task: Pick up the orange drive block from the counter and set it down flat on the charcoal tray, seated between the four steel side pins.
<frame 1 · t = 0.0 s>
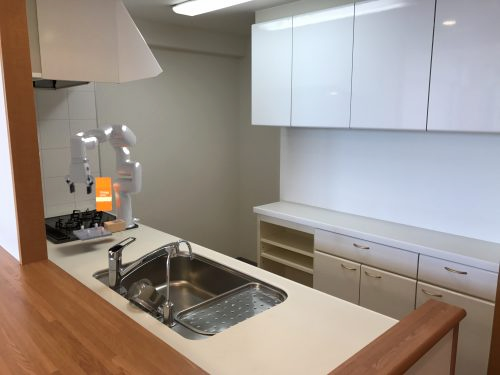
hand: (80, 193, 216), 31 cm above the countertop, tool pointing down, fingers open, 9 cm apart
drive: (114, 230, 238), point 6 cm above the countertop
orange juice: (104, 209, 257), point 13 cm above the countertop
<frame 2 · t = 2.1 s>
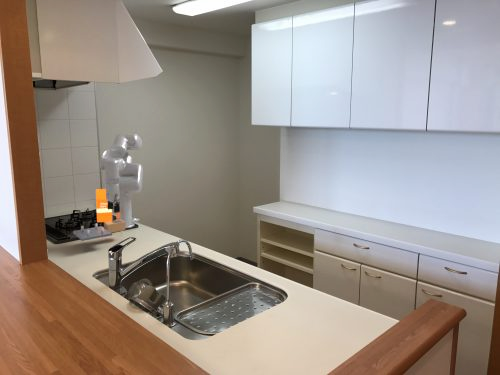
hand: (113, 210, 235), 18 cm above the countertop, tool pointing down, fingers open, 9 cm apart
orange juice: (104, 220, 258), point 5 cm above the countertop
everything else where it was.
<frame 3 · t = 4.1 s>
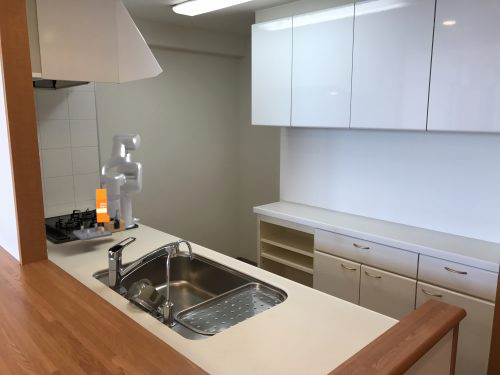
hand: (114, 227, 238), 8 cm above the countertop, tool pointing down, fingers closed on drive, 6 cm apart
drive: (114, 230, 238), point 6 cm above the countertop, touching gripper
everything else where it was.
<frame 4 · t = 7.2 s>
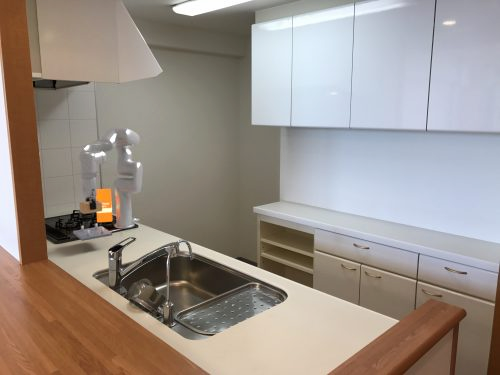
hand: (91, 207, 223), 22 cm above the countertop, tool pointing down, fingers closed on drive, 6 cm apart
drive: (91, 211, 223), point 20 cm above the countertop, touching gripper
everything else where it was.
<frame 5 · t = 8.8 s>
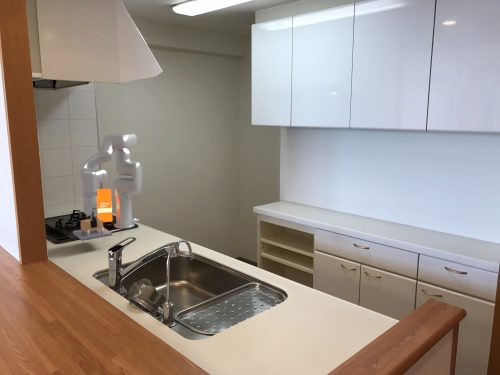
hand: (92, 225, 225), 12 cm above the countertop, tool pointing down, fingers closed on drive, 6 cm apart
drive: (92, 229, 225), point 10 cm above the countertop, touching gripper
everything else where it was.
when the fingers open (10 cm above the countertop, at t = 10.3 s): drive stays where it is, resting on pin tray.
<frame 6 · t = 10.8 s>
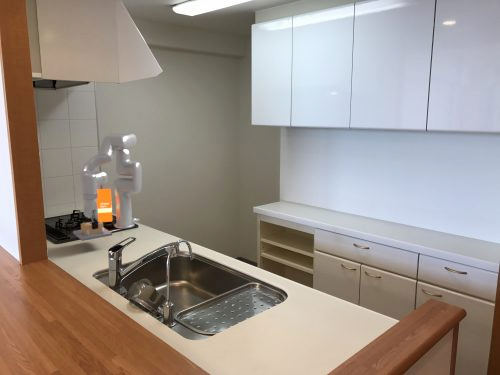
hand: (92, 226, 225), 11 cm above the countertop, tool pointing down, fingers open, 9 cm apart
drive: (92, 232, 226), point 8 cm above the countertop, touching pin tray
everything else where it was.
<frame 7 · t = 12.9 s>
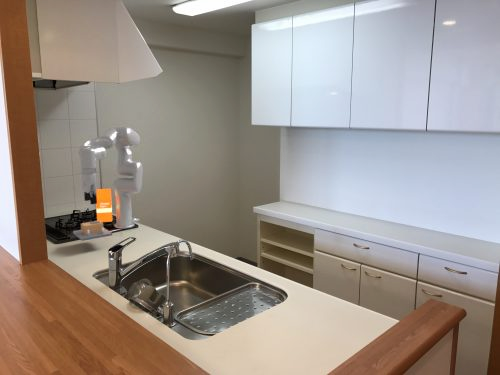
hand: (90, 202, 222), 25 cm above the countertop, tool pointing down, fingers open, 9 cm apart
nothing on the countertop moved.
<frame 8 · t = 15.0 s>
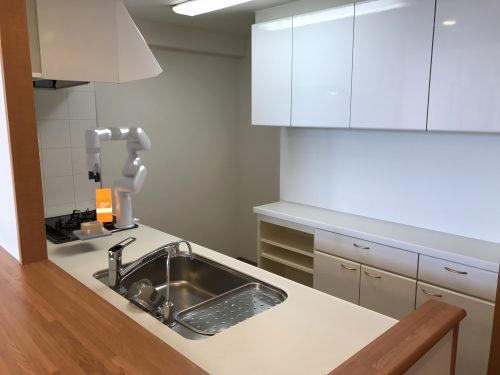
hand: (94, 180, 235), 34 cm above the countertop, tool pointing down, fingers open, 9 cm apart
nothing on the countertop moved.
at the end: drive 0.1 cm off-centre on the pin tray, point 1.2 cm above the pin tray's base; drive tilted 0°; the gripper is holding nothing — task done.
